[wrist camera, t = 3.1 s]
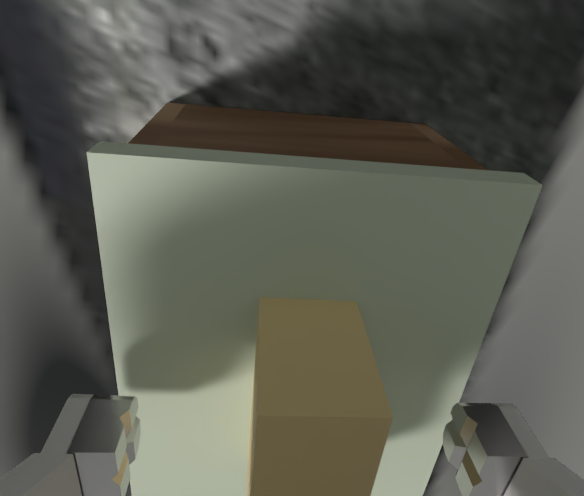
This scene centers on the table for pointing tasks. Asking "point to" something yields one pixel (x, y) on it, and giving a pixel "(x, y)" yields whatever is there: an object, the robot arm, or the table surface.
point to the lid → (296, 312)
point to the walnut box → (301, 136)
